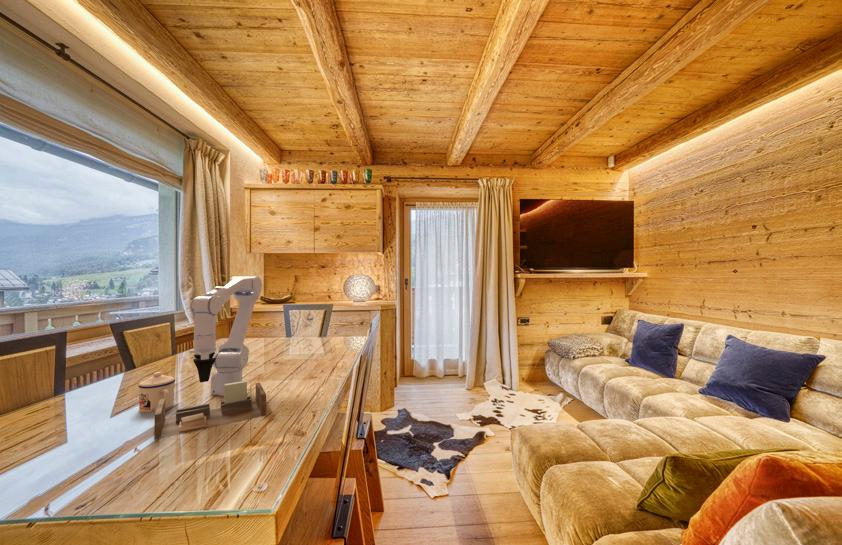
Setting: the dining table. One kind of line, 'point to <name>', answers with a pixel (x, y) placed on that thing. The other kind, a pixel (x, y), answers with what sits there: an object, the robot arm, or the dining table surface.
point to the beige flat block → (235, 392)
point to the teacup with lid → (156, 392)
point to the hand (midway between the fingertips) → (204, 378)
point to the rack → (210, 414)
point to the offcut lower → (192, 426)
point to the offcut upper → (192, 419)
